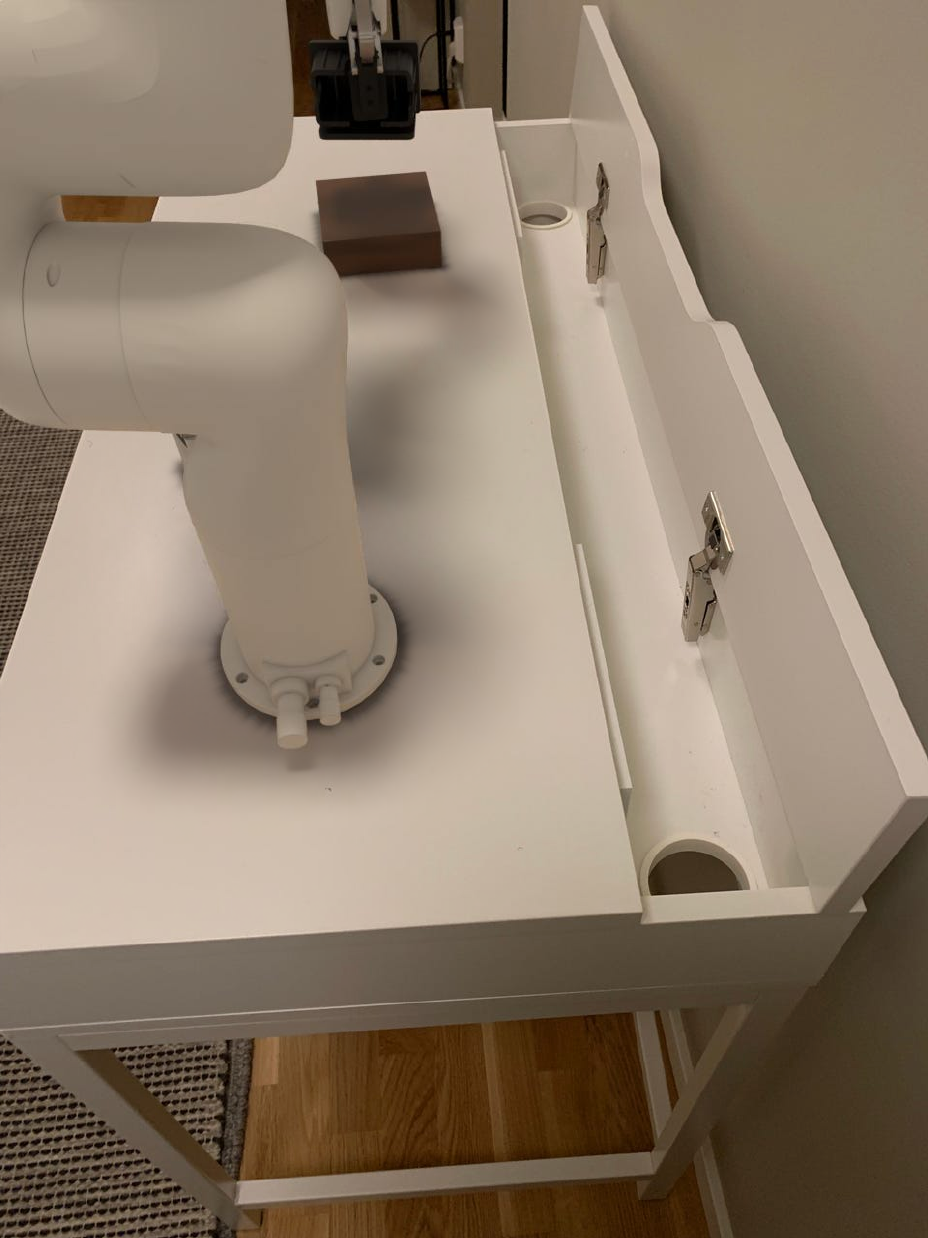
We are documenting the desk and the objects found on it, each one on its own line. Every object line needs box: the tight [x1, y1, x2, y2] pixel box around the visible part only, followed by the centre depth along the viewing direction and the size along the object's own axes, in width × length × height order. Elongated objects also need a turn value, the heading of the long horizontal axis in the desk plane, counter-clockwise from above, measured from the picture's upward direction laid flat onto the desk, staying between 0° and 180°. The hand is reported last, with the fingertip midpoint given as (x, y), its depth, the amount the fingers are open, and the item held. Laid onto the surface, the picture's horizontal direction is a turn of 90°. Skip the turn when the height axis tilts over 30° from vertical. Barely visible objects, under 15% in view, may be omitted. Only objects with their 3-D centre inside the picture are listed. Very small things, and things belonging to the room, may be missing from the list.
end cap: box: [307, 39, 422, 141], centre depth 82 cm, size 10×7×7 cm
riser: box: [315, 171, 443, 277], centre depth 93 cm, size 12×12×4 cm
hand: (366, 96), depth 83 cm, fingers closed on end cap, 7 cm apart
